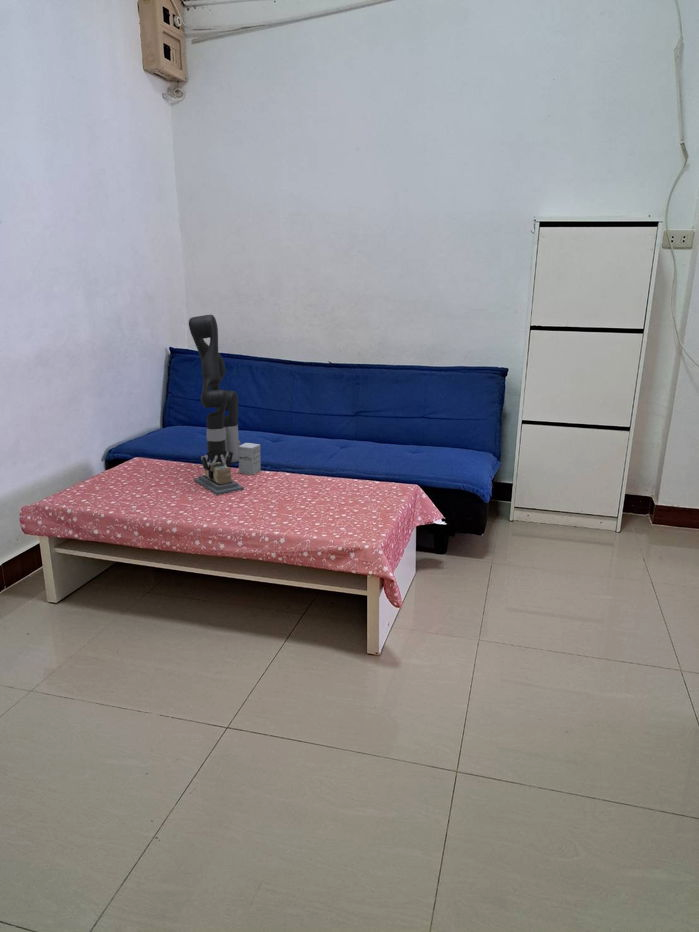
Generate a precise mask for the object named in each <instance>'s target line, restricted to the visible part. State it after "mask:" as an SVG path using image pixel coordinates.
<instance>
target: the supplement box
mask: <svg viewBox="0 0 699 932" xmlns="http://www.w3.org/2000/svg"><path fill="white" fill-rule="evenodd" d="M238 452H239V460H238V473H239V474H244V475H251V476H254V475H256V474H258V473H260V472H261V471H262V470H261V464H262V463H261V444H259V443H258V444H257V443H253V442H252V443H251V442H244V443H242V444H240V446H238ZM257 472H258V473H257ZM255 473H256V474H255Z"/></svg>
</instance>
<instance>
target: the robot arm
mask: <svg viewBox="0 0 699 932" xmlns="http://www.w3.org/2000/svg"><path fill="white" fill-rule="evenodd" d="M188 328H189V331H190V335H191V337H192V340H193V342H194V344H195V347H196V349H197V352H198V354H199V355H198V356H199V359H200V362H201V375H202V376H201V377H202V391H201V395H200V403H201V406H203V408H205V409H212V408H215V409H216V411H212V412H209V413H207V415H206V449H207V450H206V451H207V452H206V454H205V455H201V456H200V460H201V464H202V467H203V469H204V470H205V469H206V470H208V471H209V478H210V479H214V477H213V467H214V466H215V463H217V462H219V463H221V464H223V465H225V466H227V467H231V465H232V463H236V462H239V452H238V446H240V445H241V440H239V424H238V423H239V422H238V421H239V396H238V393H237V391H235V390H224V389H221V388H220V384H221V382H222V380H223V379H224V377H225V375H226V366H225V362H224V359H223V356H222V355H221V354H220V353H219V331H218V330H219V328H218V323H217V320H216V317H215V316H214V315H213V314H205V315H198V316H193V317H190V318H189V319H188ZM205 339H209V344H208V343H207V342H206V341H205ZM226 411H227V412H228V414H227V415H226V416H225V412H226ZM208 459H209V461H208ZM207 462H209V465H208V464H207Z"/></svg>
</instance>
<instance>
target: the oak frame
mask: <svg viewBox="0 0 699 932" xmlns="http://www.w3.org/2000/svg"><path fill="white" fill-rule="evenodd" d="M207 464H208V465H209V461H207ZM231 471H232V469H231V468H230V466H228V467H227V466H225V465H223V464H221V463H220V462H217V463H215V466H214V467H213V477H214V479H211V480H213V481H215V482H217V483H218V484H220V485H221V484H226V483H231V480H232V472H231ZM204 475H205V476H206V477H208V478H209V471H208V470H206V469H204Z"/></svg>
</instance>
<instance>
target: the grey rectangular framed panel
mask: <svg viewBox="0 0 699 932" xmlns="http://www.w3.org/2000/svg"><path fill="white" fill-rule="evenodd" d="M194 481H195V482H194ZM193 482H194V483H196V484H197V483H198V484H197V485H199V484H200V485H199V486H201V487H202V486H203V487H202V488H204V487H205V488H204V489H206V490H207V489H208V490H207V491H209V490H210V491H211V492H210V491H209V492H210V493H212V492H213V493H212V494H214V495H215V494H216V495H215V496H220V495H219V494H222V495H225V494H224V493H226V494H230V493H229V492H231V493H234V492H233V491H236V492H239V491H238V490H241V491H244V490H243V489H244V487H243V486H242V485H241V484H239V483H238V482H237V481H234V480H233V479H231V483H226V484H221V485H220V484H218V483H217V482H215V481H213V480H211V479H210V478H208V477H206V476H205V474H202V475H198V477H195V478H193Z"/></svg>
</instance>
